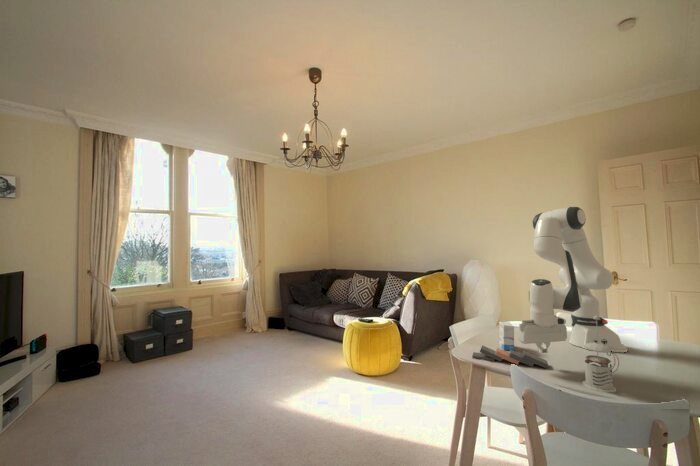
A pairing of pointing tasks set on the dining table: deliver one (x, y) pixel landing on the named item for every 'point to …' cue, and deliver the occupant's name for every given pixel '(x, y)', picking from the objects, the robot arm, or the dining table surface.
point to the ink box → (506, 335)
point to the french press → (599, 368)
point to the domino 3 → (505, 356)
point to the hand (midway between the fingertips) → (542, 352)
